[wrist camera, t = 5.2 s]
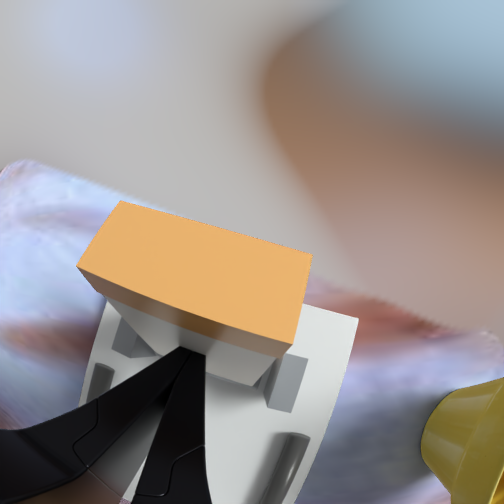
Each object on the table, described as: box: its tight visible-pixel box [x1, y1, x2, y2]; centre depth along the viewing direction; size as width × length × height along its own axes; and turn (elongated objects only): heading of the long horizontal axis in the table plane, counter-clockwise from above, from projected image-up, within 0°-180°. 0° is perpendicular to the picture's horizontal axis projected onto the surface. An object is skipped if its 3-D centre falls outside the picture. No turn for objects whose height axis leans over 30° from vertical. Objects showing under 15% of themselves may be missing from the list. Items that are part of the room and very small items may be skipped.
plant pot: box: [421, 377, 504, 504], centre depth 8 cm, size 10×10×10 cm
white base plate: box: [78, 301, 359, 504], centre depth 11 cm, size 16×14×5 cm
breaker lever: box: [76, 201, 313, 390], centre depth 9 cm, size 2×5×9 cm, turn 73°
